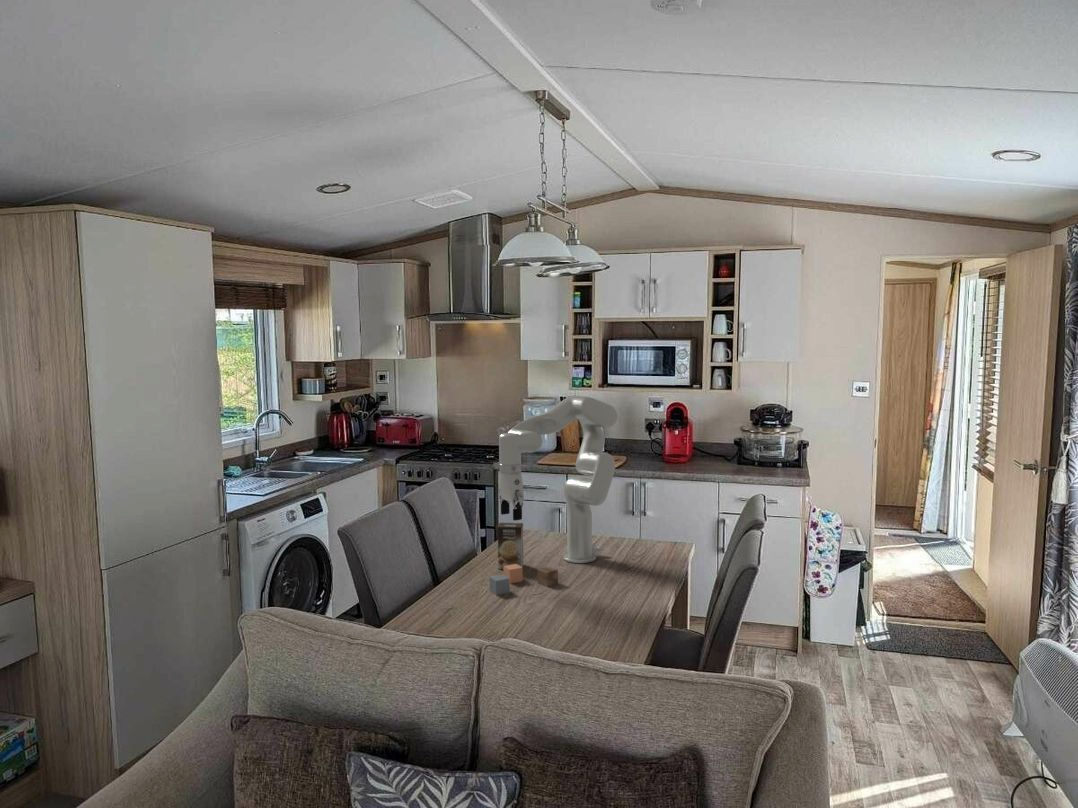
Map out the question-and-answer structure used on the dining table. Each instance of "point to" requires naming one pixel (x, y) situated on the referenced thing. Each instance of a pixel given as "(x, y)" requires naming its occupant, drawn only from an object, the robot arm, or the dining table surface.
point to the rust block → (513, 573)
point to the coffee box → (510, 544)
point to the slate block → (499, 584)
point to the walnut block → (547, 576)
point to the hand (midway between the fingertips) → (511, 516)
